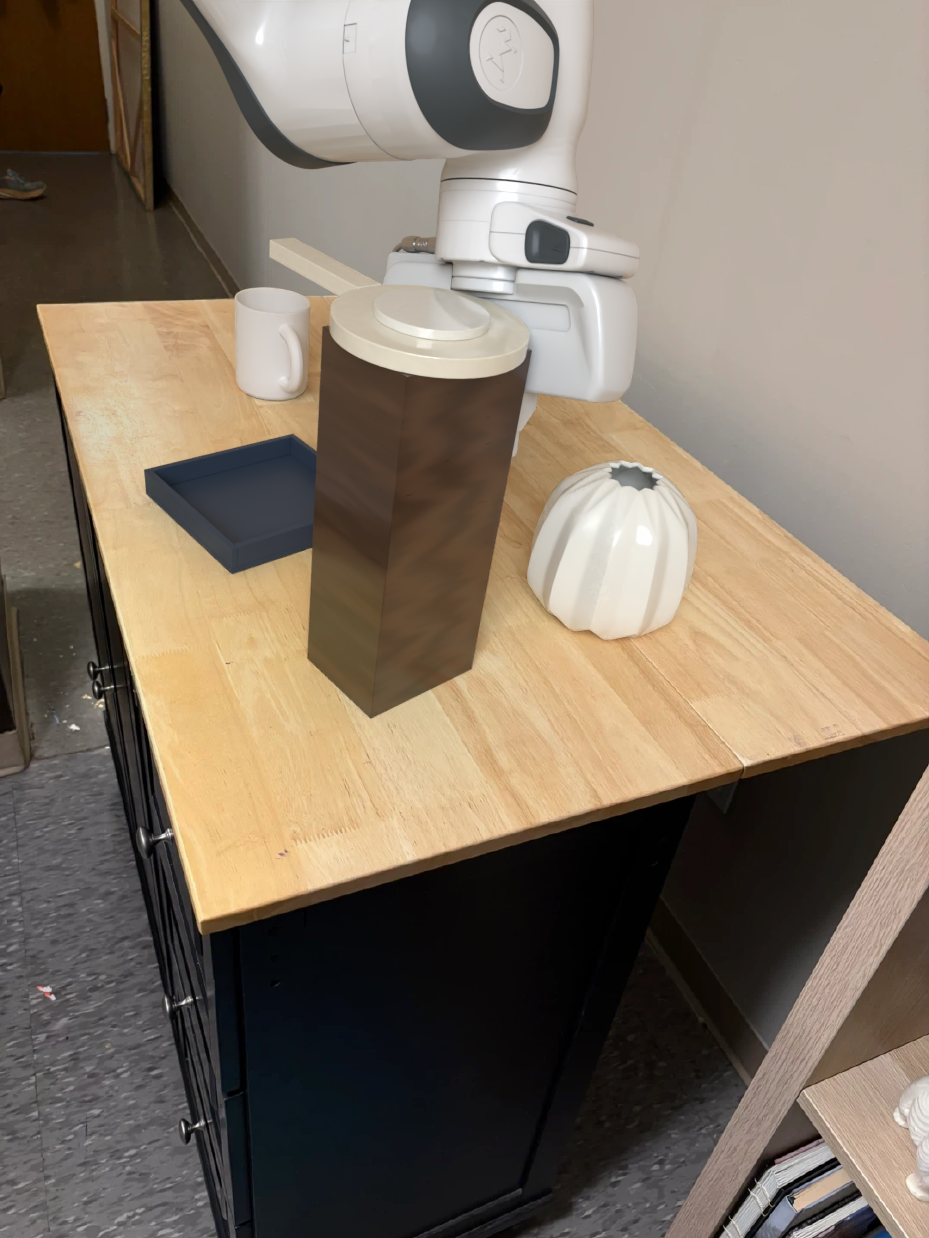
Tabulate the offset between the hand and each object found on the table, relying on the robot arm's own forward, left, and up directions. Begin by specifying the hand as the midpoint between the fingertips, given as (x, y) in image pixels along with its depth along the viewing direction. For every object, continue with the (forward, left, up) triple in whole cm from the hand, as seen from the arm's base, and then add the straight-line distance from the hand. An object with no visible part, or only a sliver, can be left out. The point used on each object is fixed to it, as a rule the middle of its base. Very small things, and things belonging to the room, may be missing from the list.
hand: (482, 452), depth 64 cm
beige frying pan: (-6, +6, +9) cm, 12 cm away
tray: (-2, +25, -17) cm, 30 cm away
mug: (+13, +46, -17) cm, 50 cm away
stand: (-6, +1, -17) cm, 18 cm away
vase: (+14, -3, -17) cm, 23 cm away
